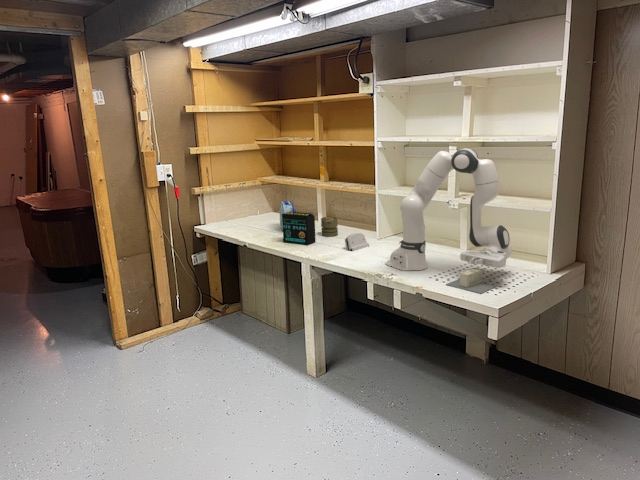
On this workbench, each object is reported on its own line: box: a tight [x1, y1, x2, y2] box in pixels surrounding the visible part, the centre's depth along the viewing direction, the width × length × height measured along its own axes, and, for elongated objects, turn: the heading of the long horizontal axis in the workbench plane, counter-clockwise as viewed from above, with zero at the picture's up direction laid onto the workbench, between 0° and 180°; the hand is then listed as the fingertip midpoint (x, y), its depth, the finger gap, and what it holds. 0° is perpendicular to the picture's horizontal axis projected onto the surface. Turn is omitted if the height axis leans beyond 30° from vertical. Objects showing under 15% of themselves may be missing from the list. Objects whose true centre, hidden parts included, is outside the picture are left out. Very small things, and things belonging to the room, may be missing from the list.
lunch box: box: [279, 200, 297, 231], centre depth 353 cm, size 26×11×21 cm, turn 10°
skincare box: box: [458, 267, 484, 288], centre depth 220 cm, size 6×4×12 cm
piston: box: [320, 216, 339, 238], centre depth 331 cm, size 11×12×11 cm
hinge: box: [344, 232, 370, 252], centre depth 295 cm, size 17×5×10 cm, turn 137°
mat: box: [445, 278, 497, 295], centre depth 219 cm, size 18×13×1 cm
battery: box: [282, 211, 316, 246], centre depth 311 cm, size 19×10×20 cm, turn 59°
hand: (473, 262), depth 218 cm, fingers closed
